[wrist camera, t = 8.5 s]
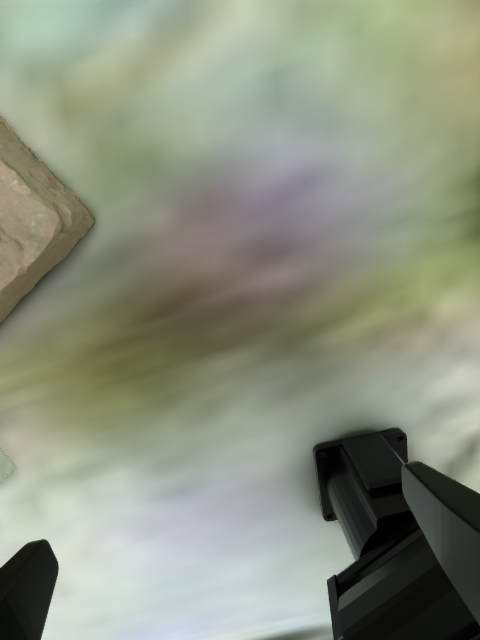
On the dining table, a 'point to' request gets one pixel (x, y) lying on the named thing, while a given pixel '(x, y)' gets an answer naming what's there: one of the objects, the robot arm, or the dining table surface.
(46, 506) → the dining table surface
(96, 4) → the dining table surface
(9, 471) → the grey block
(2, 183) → the brick
